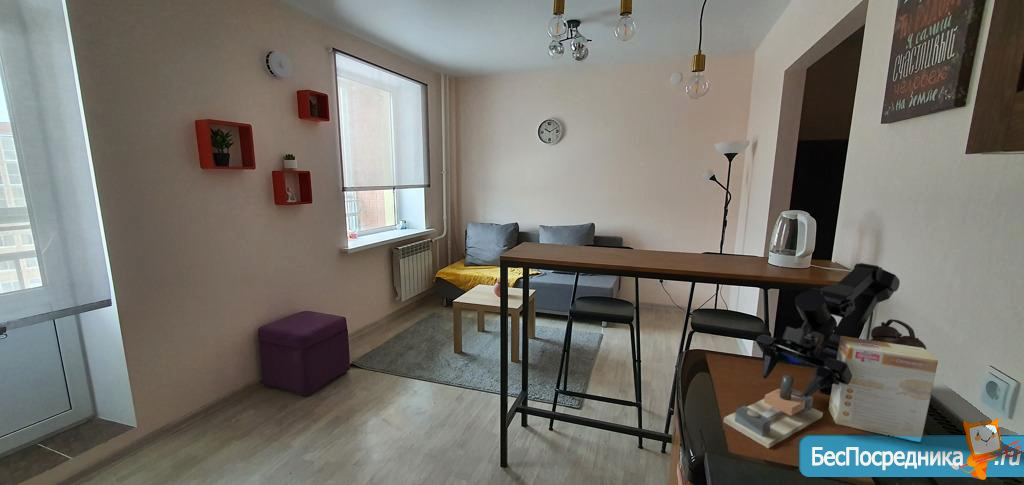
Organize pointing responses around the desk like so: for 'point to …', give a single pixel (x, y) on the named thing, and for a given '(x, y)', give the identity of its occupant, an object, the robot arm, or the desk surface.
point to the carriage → (785, 397)
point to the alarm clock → (895, 335)
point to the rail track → (772, 420)
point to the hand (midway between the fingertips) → (783, 386)
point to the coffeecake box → (883, 387)
